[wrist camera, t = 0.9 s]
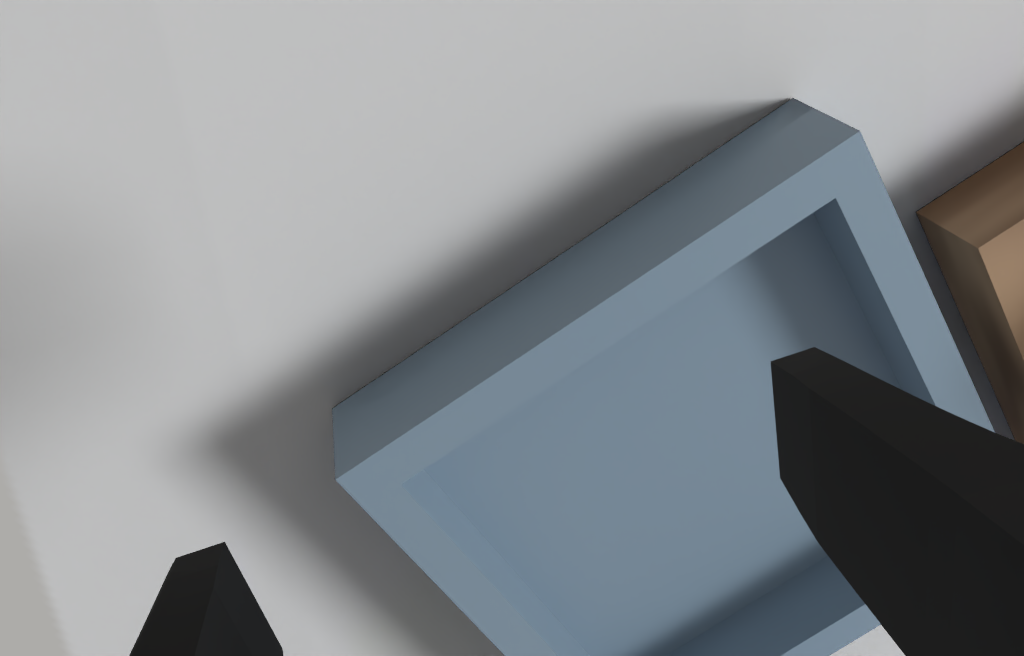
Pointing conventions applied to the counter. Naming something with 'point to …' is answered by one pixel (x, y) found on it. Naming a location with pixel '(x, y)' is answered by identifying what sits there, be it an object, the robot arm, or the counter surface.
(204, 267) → the counter surface
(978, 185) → the walnut socket block
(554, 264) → the slate-blue tray
